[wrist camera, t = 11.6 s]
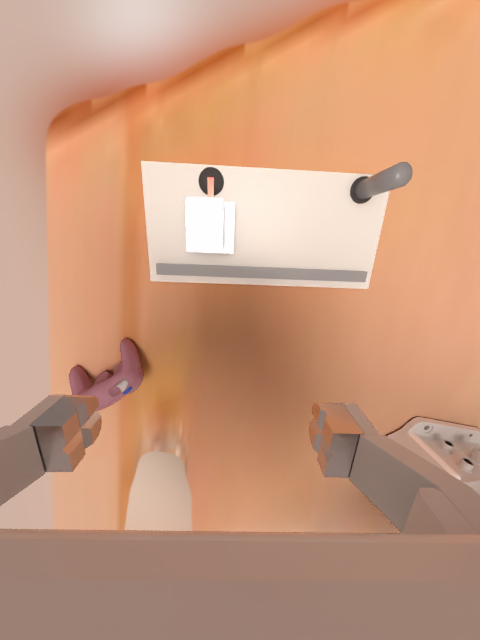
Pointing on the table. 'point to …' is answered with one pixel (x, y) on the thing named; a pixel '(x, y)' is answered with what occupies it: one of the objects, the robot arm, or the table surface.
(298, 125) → the table surface
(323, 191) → the gauge board
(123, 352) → the video game controller
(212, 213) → the leg
